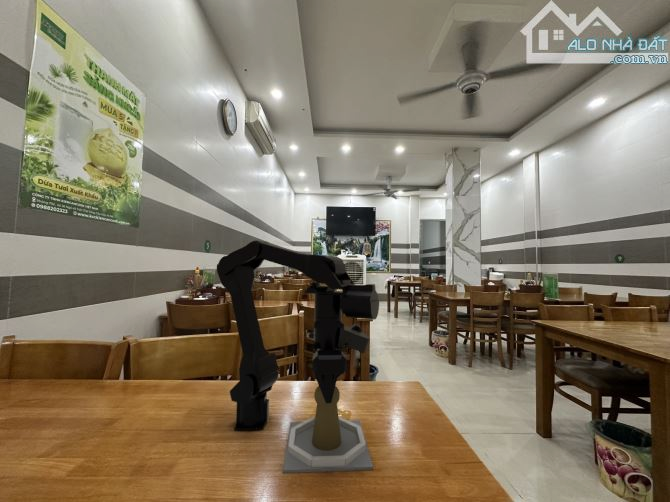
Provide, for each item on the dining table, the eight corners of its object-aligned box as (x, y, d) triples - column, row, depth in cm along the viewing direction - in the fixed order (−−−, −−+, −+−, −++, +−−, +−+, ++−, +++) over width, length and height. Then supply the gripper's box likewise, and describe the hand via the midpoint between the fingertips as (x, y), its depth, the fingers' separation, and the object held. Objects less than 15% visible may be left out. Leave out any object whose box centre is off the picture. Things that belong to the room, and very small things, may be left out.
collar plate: (282, 473, 51) (282, 463, 51) (290, 424, 67) (290, 416, 67) (373, 469, 52) (373, 459, 52) (359, 422, 68) (359, 414, 68)
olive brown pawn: (338, 452, 56) (338, 393, 57) (308, 448, 57) (308, 390, 58) (343, 435, 62) (344, 381, 63) (316, 431, 63) (316, 379, 64)
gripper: (375, 324, 52) (375, 414, 51) (359, 309, 71) (359, 375, 70) (312, 324, 52) (311, 416, 51) (313, 309, 70) (313, 376, 69)
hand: (327, 392), depth 60 cm, fingers open, 9 cm apart
